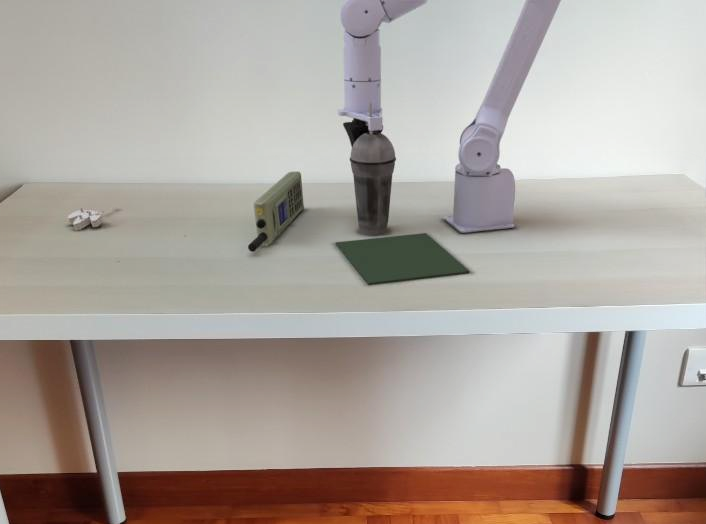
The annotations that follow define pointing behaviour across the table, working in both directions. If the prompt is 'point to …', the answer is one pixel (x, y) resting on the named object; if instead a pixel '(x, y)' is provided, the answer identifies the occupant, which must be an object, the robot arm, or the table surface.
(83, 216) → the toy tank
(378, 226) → the beverage cup
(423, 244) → the mat
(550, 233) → the table surface
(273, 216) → the handheld radio
